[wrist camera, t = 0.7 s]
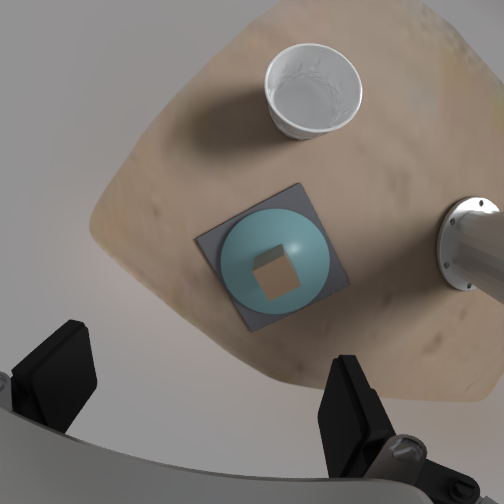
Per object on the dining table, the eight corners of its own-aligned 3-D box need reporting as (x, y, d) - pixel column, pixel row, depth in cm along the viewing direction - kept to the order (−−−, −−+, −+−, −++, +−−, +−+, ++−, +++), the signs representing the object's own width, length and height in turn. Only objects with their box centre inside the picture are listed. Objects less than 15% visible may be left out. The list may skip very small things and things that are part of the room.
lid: (298, 188, 33) (305, 191, 27) (344, 282, 35) (357, 301, 29) (202, 240, 34) (189, 252, 29) (253, 327, 37) (251, 352, 31)
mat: (300, 182, 33) (300, 182, 32) (349, 282, 35) (350, 284, 35) (197, 237, 35) (196, 238, 34) (252, 330, 37) (252, 332, 37)
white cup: (317, 157, 32) (338, 150, 22) (252, 125, 32) (246, 104, 22) (347, 99, 30) (376, 72, 21) (284, 67, 30) (289, 29, 20)
